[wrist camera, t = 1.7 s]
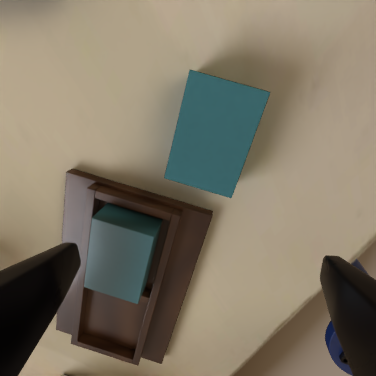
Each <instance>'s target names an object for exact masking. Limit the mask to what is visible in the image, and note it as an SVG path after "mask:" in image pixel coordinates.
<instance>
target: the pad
mask: <svg viewBox="0 0 376 376" xmlns="http://www.w3.org/2000/svg"><path fill="white" fill-rule="evenodd" d="M269 94H270V92H268V91H264V90H261V89H257V88H254V87H250V86H247V85H243V84H239V83H236V82H232V81H229V80H225V79H222V78H218V77H215V76H211V75H208V74H204V73H200V72H197V71H193V70H190V71H189V75H188V80H187V84H186V88H185V92H184V96H183V101H182V105H181V109H180V113H179V118H178V122H177V126H176V130H175V134H174V139H173V143H172V147H171V151H170V156H169V160H168V164H167V168H166V172H165V177H164V178H166V179H169V180H172V181H176V182H179V183H182V184H186V185H189V186H192V187H196V188H199V189H202V190H206V191H209V192H212V193H216V194H219V195H222V196H226V197H229V198H232V195H233V193H234V190H235V187H236V184H237V182H238V179H239V176H240V174H241V171H242V168H243V165H244V163H245V160H246V157H247V154H248V152H249V149H250V146H251V144H252V141H253V138H254V135H255V133H256V130H257V127H258V124H259V122H260V119H261V116H262V114H263V111H264V108H265V105H266V103H267V100H268V97H269Z"/></svg>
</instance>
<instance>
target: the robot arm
mask: <svg viewBox="0 0 376 376" xmlns="http://www.w3.org/2000/svg"><path fill="white" fill-rule="evenodd" d="M80 265H81V258H80V254H79V250H78V246H77V244H76V243H69V242H66V243H63V244H60V245H58V246H56V247H54V248H51V249H49V250H47V251H44V252H42V253H40V254H38V255H35V256H33V257H31V258H29V259H26V260H24V261H22V262H19V263H17V264H15V265H13V266H10V267H8V268H6V269H4V270H1V271H0V376H18V375H19V373H20V371H21V370H22V368H23V367H24V365H25V363H26V362H27V360H28V358H29V357H30V355H31V353H32V352H33V350H34V349H35V347H36V345H37V344H38V342H39V340H40V339H41V337H42V335H43V334H44V332H45V331H46V329H47V327H48V326H49V324H50V322H51V321H52V319H53V317H54V316H55V314H56V313H57V311H58V309H59V308H60V306H61V304H62V302H63V300H64V299H65V297H66V295H67V293H68V291H69V289H70V286H71V284H72V282H73V280H74V278H75V276H76V274H77V272H78V270H79V268H80ZM320 281H321V285H322V289H323V292H324V296H325V299H326V303H327V306H328V310H329V313H330V317H331V320H332V324H333V327H334V329H335V332H336V335H337V337H338V340H339V342H340V345H341V347H342V349H343V351H342V353H341V354H340V355H339V359H340V361H341V362H342V363H343V364H346V365H349V367H350V369H351V372H352V374H353V376H376V280H375V279H373V278H372V277H370V276H369V275H367V274H366V273H364V272H362V271H361V270H359V269H358V268H356V267H355V266H353V265H351V264H350V263H348V262H347V261H345V260H344V259H342V258H340V257H339V256H325V257H324V258H323V263H322V268H321V273H320Z"/></svg>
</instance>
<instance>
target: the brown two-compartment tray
mask: <svg viewBox="0 0 376 376" xmlns="http://www.w3.org/2000/svg"><path fill="white" fill-rule="evenodd" d="M212 215H213V211H211V210H207V209H204V208H201V207H198V206H194V205H191V204H188V203H184V202H181V201H178V200H174V199H171V198H168V197H164V196H161V195H158V194H154V193H151V192H148V191H145V190H141V189H138V188H135V187H131V186H128V185H125V184H121V183H118V182H115V181H111V180H108V179H105V178H101V177H98V176H95V175H92V174H88V173H85V172H82V171H78V170H75V169H71V170H69V171H67V172H66V186H65V201H64V217H63V232H62V244H63V243H66V242H69V243H76V244H77V246H78V250H79V254H80V258H81V265H80V268H79V270H78V272H77V274H76V276H75V278H74V280H73V282H72V284H71V286H70V289H69V291H68V293H67V295H66V297H65V299H64V300H63V302H62V304H61V306H60V308H59V309H58V311H57V324H56V330H59V331H62V332H65V333H68V334H71V335H72V338H71V344H74V345H77V346H80V347H83V348H86V349H89V350H92V351H95V352H98V353H101V354H104V355H107V356H110V357H113V358H116V359H119V360H122V361H125V362H128V363H132V364H135V365H139V362H140V359H141V357H142V358H145V359H148V360H151V361H154V362H157V363H160V364H162V361H163V358H164V355H165V352H166V350H167V347H168V344H169V341H170V338H171V335H172V332H173V329H174V326H175V323H176V320H177V318H178V315H179V312H180V309H181V306H182V303H183V300H184V297H185V294H186V291H187V288H188V286H189V283H190V280H191V277H192V274H193V271H194V268H195V265H196V262H197V259H198V256H199V253H200V251H201V248H202V245H203V242H204V239H205V236H206V233H207V230H208V227H209V224H210V221H211V219H212Z"/></svg>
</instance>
